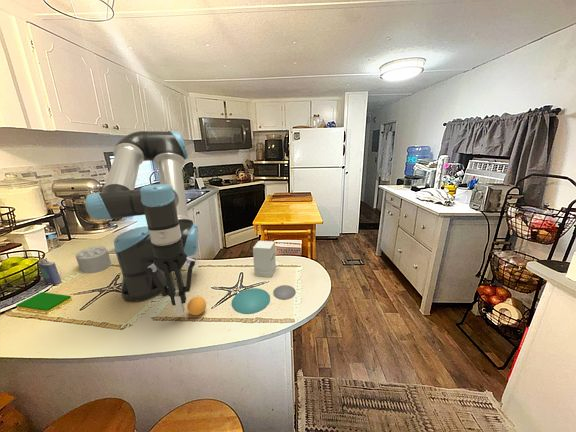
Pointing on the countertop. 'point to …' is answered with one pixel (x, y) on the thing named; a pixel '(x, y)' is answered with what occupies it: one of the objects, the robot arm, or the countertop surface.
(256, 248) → the supplement box
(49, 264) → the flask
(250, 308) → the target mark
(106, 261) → the lumpy-topped squat cylinder
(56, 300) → the dish sponge
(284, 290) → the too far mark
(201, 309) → the ball
